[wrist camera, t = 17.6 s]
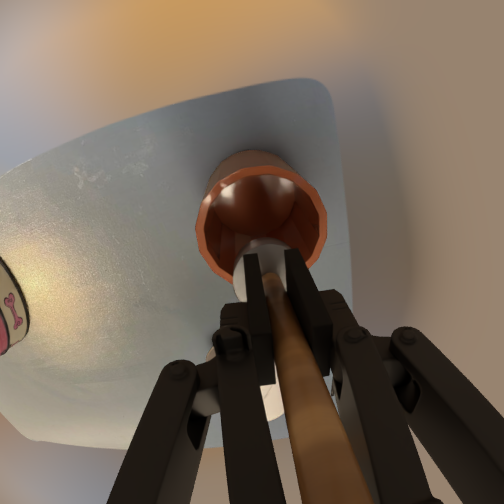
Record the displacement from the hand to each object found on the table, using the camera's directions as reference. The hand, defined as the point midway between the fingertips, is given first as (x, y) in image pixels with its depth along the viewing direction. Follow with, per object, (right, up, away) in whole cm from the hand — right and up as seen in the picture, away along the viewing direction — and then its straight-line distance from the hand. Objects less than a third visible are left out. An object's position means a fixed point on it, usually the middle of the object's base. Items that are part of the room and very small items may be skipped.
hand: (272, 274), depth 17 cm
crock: (-1, +7, +14) cm, 15 cm away
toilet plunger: (0, 0, +6) cm, 6 cm away
